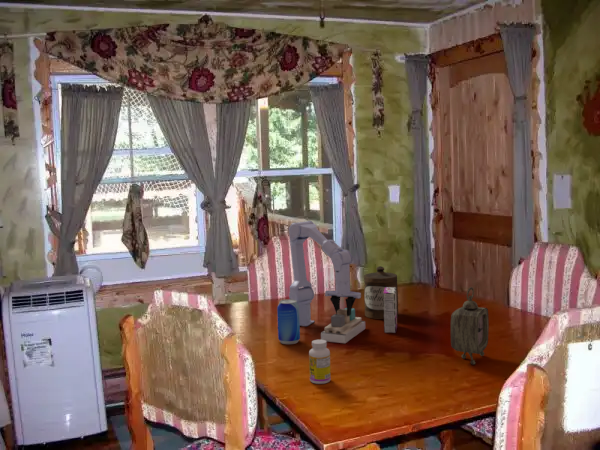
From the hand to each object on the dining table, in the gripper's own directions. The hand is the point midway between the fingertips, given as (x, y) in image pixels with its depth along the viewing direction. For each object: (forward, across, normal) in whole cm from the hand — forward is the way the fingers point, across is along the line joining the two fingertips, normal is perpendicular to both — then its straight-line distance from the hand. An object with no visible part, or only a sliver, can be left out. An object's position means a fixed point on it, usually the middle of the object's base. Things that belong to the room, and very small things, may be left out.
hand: (343, 314), depth 249 cm
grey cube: (+3, 0, -6) cm, 6 cm away
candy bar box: (+8, +15, +14) cm, 22 cm away
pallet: (+5, 0, 0) cm, 5 cm away
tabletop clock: (+8, +52, -14) cm, 54 cm away
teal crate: (+3, 0, +6) cm, 6 cm away
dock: (+8, 0, 0) cm, 8 cm away
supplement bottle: (+8, +13, -52) cm, 54 cm away
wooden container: (+8, +4, +34) cm, 36 cm away
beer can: (+8, -16, -16) cm, 24 cm away
